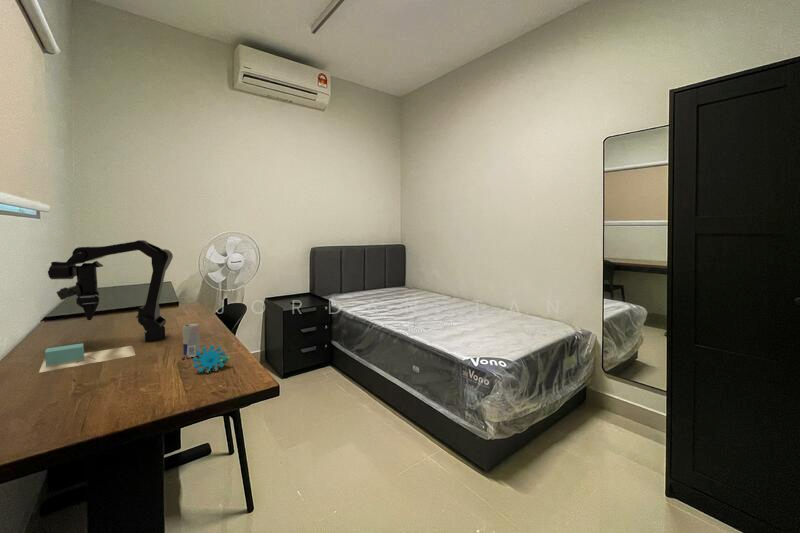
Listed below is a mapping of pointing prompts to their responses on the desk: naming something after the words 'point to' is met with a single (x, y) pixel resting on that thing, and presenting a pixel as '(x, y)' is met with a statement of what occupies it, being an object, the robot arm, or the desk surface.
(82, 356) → the sanding block
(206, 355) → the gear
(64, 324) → the desk surface
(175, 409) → the desk surface
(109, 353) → the board
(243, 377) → the desk surface
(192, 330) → the energy drink
